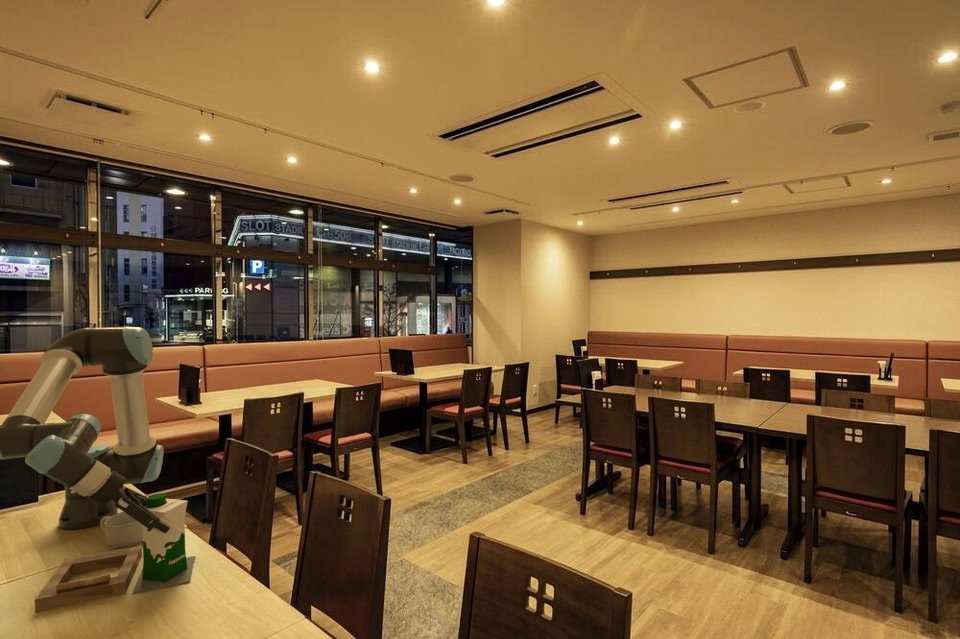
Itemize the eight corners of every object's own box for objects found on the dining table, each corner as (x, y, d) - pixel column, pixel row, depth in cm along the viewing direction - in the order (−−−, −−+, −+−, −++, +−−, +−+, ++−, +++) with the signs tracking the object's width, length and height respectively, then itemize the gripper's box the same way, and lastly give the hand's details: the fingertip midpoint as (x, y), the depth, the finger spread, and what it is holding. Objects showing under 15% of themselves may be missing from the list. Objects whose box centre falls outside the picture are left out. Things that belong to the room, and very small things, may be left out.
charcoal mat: (143, 566, 132) (143, 565, 132) (195, 557, 137) (195, 555, 137) (132, 594, 119) (132, 592, 119) (189, 582, 124) (189, 581, 124)
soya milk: (164, 563, 133) (162, 489, 133) (193, 566, 131) (191, 491, 131) (135, 581, 125) (133, 502, 124) (166, 584, 123) (164, 505, 122)
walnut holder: (65, 570, 131) (64, 553, 131) (142, 556, 138) (141, 539, 138) (35, 612, 113) (34, 592, 112) (125, 594, 120) (125, 575, 120)
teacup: (158, 538, 149) (157, 511, 149) (122, 555, 139) (121, 526, 138) (125, 531, 153) (124, 505, 153) (87, 547, 143) (87, 520, 143)
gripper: (82, 483, 127) (153, 524, 137) (88, 513, 108) (170, 558, 118) (107, 458, 130) (175, 500, 140) (117, 483, 111) (195, 529, 121)
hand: (173, 526), depth 129 cm, fingers open, 13 cm apart
